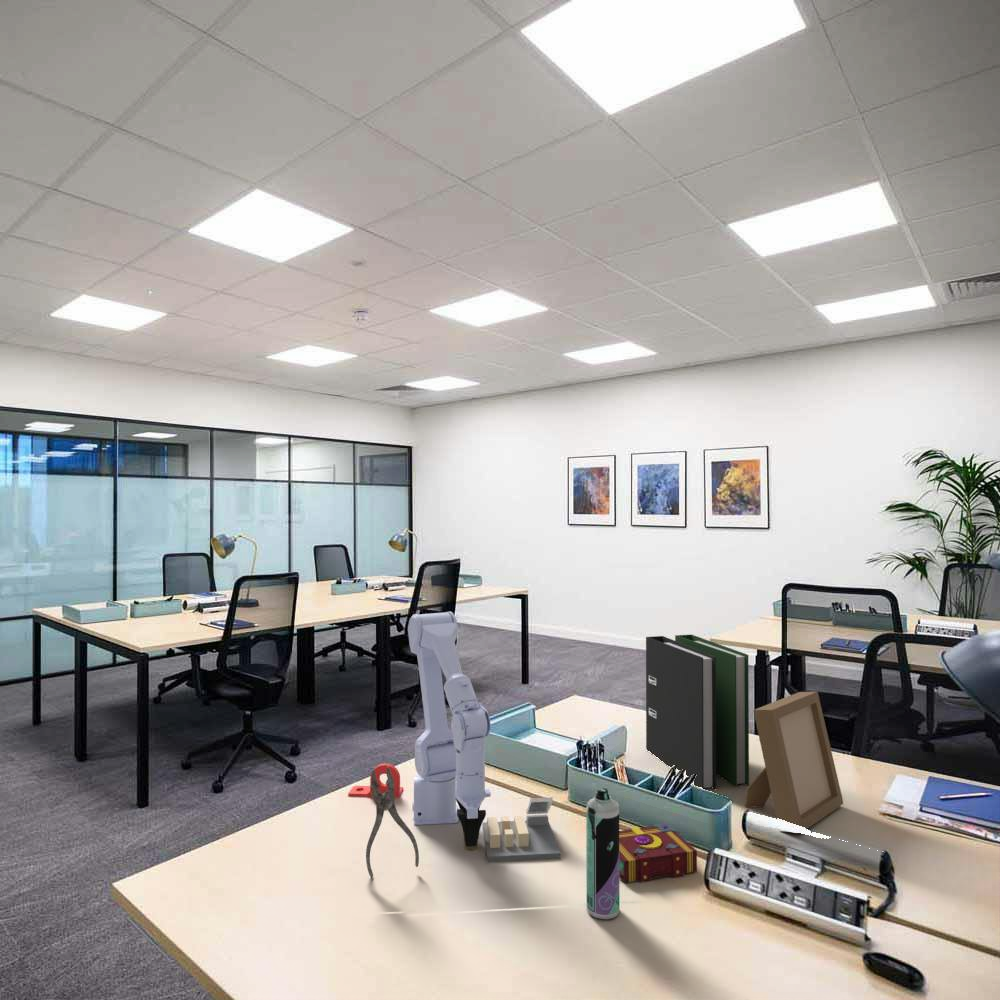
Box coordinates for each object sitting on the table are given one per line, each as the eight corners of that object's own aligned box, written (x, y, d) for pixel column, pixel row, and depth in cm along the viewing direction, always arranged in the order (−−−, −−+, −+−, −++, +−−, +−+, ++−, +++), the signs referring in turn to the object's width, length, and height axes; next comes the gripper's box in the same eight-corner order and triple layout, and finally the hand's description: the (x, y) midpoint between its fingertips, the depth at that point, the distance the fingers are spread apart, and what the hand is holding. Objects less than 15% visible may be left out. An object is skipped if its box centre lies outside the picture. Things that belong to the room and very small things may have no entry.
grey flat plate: (531, 802, 135) (530, 797, 136) (526, 814, 141) (526, 809, 142) (552, 801, 136) (552, 796, 136) (547, 814, 142) (546, 809, 143)
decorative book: (698, 874, 124) (698, 847, 124) (618, 887, 120) (618, 859, 120) (667, 845, 135) (667, 820, 135) (593, 855, 131) (593, 830, 131)
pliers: (417, 874, 124) (424, 765, 125) (418, 876, 123) (424, 767, 124) (364, 876, 122) (371, 766, 123) (364, 879, 122) (371, 767, 122)
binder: (751, 787, 162) (751, 654, 163) (697, 793, 159) (696, 658, 159) (692, 748, 189) (691, 634, 189) (644, 753, 185) (643, 637, 185)
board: (487, 861, 128) (487, 843, 128) (482, 827, 142) (482, 810, 142) (560, 858, 129) (560, 839, 129) (547, 824, 143) (547, 807, 143)
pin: (464, 850, 132) (464, 820, 132) (463, 844, 135) (463, 814, 135) (477, 850, 132) (477, 819, 132) (476, 843, 135) (476, 813, 135)
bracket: (403, 791, 160) (403, 758, 160) (399, 800, 155) (399, 765, 155) (353, 790, 161) (353, 757, 161) (348, 798, 156) (348, 764, 156)
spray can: (611, 923, 109) (611, 799, 109) (581, 912, 112) (581, 791, 112) (624, 906, 113) (624, 787, 114) (594, 896, 116) (594, 780, 117)
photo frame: (843, 807, 151) (842, 696, 151) (799, 839, 137) (798, 716, 137) (779, 787, 162) (779, 683, 163) (732, 814, 148) (732, 700, 148)
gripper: (493, 784, 127) (493, 856, 127) (487, 756, 141) (487, 821, 141) (456, 785, 126) (456, 858, 126) (454, 757, 140) (453, 822, 140)
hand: (470, 838), depth 133 cm, fingers open, 5 cm apart
